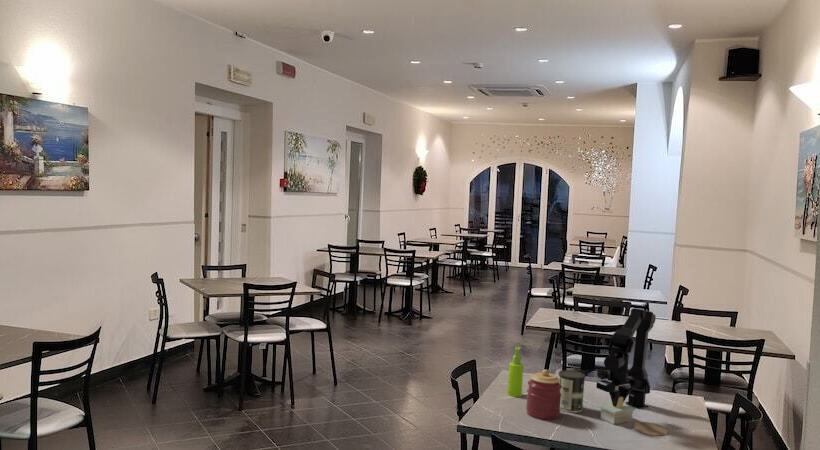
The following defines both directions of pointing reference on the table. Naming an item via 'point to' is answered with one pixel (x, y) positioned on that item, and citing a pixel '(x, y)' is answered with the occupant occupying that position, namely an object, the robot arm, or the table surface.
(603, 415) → the tin
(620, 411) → the lid
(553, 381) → the canister
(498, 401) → the table surface
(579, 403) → the coffee can
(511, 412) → the table surface
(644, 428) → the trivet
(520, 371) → the soap dispenser
